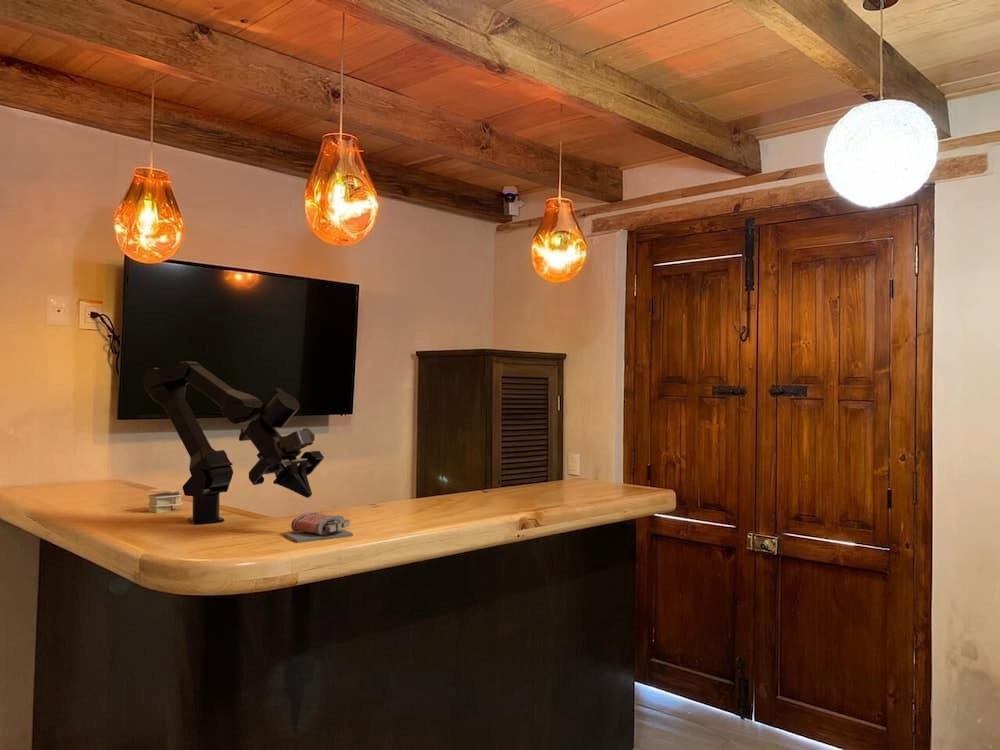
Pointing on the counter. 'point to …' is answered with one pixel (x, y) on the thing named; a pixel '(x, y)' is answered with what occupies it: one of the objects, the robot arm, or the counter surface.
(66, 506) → the counter surface
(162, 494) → the stacked layers on plate
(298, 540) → the mat
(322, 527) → the lighter
